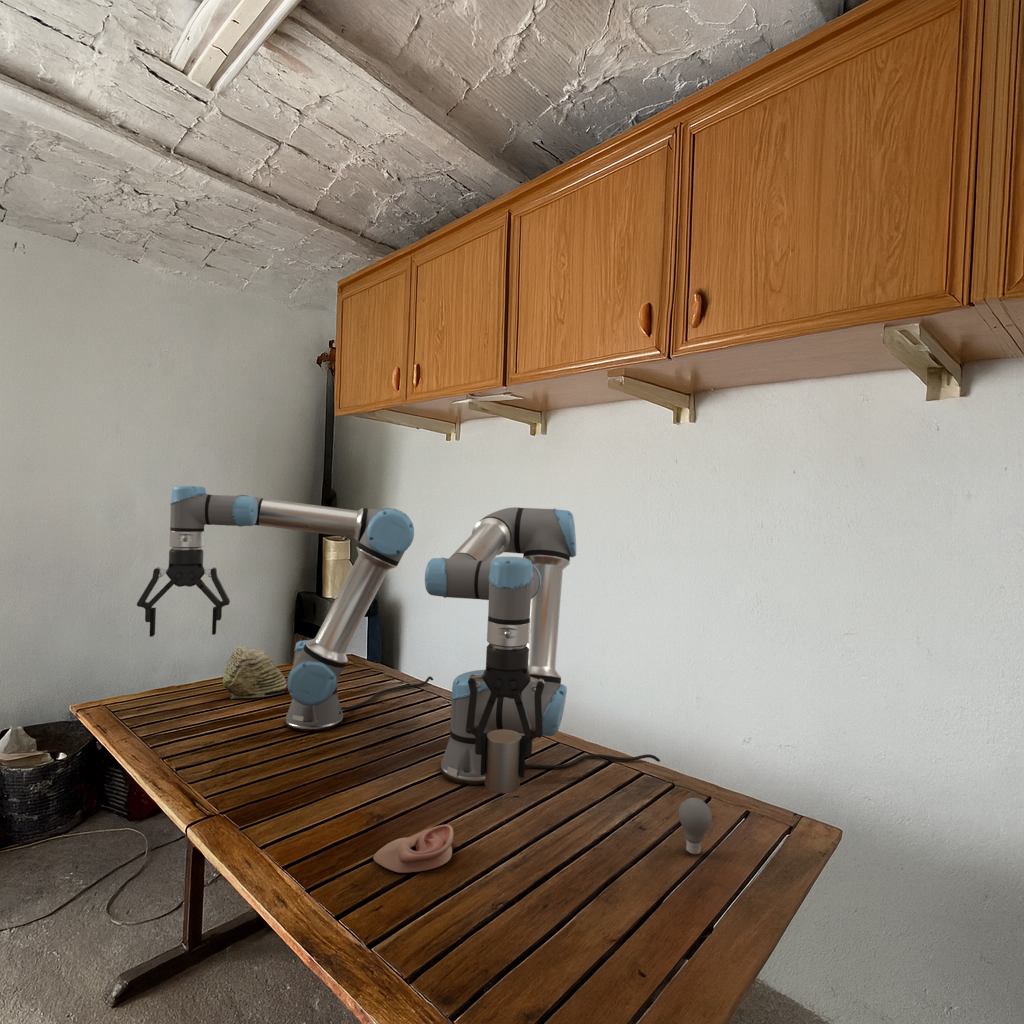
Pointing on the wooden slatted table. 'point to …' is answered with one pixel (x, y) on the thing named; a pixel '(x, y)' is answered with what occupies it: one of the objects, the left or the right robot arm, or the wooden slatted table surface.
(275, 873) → the wooden slatted table surface
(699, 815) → the light bulb
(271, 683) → the fossil
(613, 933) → the wooden slatted table surface
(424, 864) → the anatomical model
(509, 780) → the can
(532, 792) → the wooden slatted table surface
